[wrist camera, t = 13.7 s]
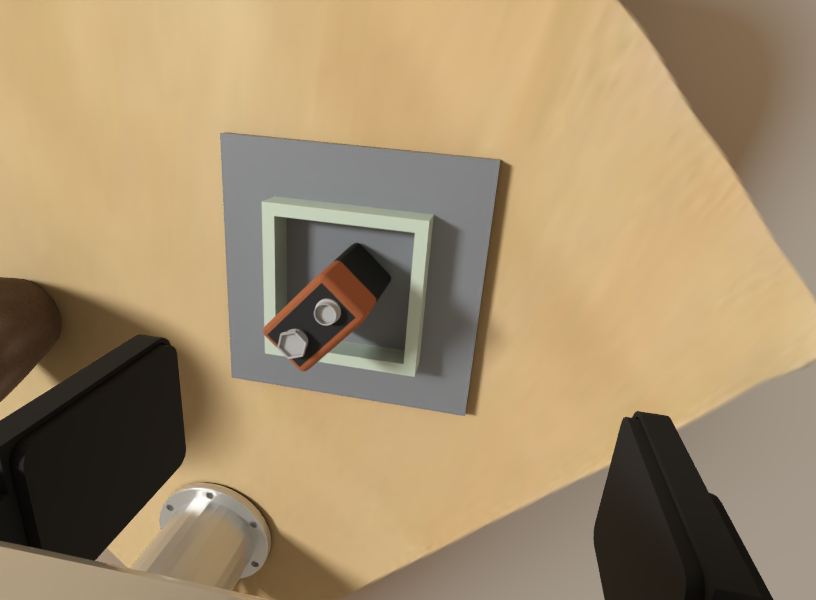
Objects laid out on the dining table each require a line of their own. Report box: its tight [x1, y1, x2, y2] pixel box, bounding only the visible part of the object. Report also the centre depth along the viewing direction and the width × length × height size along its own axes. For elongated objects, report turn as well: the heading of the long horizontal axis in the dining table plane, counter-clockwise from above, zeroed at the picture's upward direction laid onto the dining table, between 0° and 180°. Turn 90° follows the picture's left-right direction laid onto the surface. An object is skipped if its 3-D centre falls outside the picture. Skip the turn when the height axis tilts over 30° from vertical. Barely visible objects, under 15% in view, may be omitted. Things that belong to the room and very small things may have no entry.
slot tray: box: [220, 133, 500, 416], centre depth 43 cm, size 22×22×4 cm
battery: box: [263, 243, 391, 371], centre depth 39 cm, size 4×7×10 cm, turn 134°
